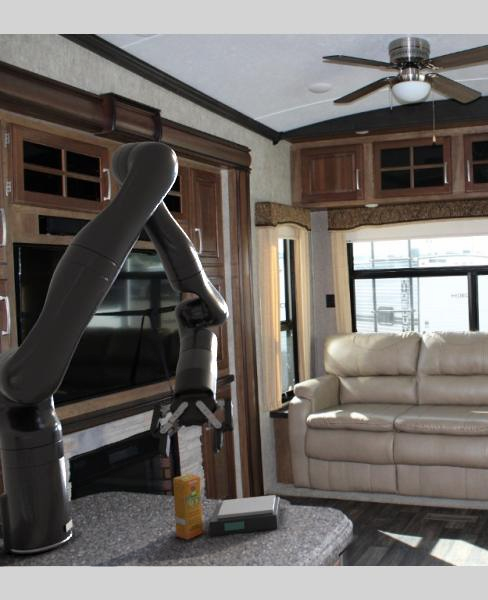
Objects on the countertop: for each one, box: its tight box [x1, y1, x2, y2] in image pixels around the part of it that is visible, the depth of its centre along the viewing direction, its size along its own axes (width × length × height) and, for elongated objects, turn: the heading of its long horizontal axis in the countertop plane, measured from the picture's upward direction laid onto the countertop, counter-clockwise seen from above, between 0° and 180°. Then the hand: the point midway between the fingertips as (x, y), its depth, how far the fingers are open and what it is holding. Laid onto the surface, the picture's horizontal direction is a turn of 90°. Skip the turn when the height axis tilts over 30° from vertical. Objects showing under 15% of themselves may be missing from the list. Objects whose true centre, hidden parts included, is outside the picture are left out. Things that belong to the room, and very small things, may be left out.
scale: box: [209, 494, 281, 537], centre depth 116 cm, size 11×9×3 cm
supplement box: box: [172, 472, 204, 540], centre depth 112 cm, size 3×3×10 cm
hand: (190, 453), depth 117 cm, fingers open, 8 cm apart
